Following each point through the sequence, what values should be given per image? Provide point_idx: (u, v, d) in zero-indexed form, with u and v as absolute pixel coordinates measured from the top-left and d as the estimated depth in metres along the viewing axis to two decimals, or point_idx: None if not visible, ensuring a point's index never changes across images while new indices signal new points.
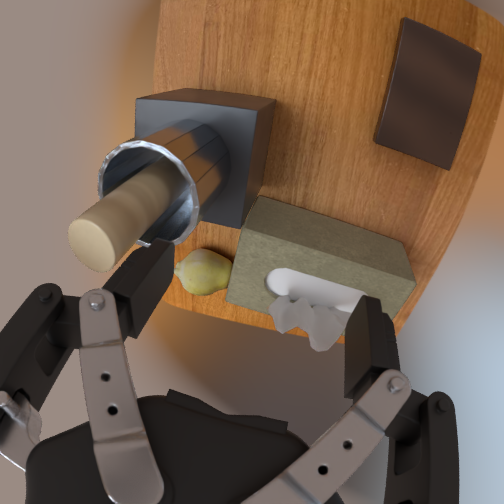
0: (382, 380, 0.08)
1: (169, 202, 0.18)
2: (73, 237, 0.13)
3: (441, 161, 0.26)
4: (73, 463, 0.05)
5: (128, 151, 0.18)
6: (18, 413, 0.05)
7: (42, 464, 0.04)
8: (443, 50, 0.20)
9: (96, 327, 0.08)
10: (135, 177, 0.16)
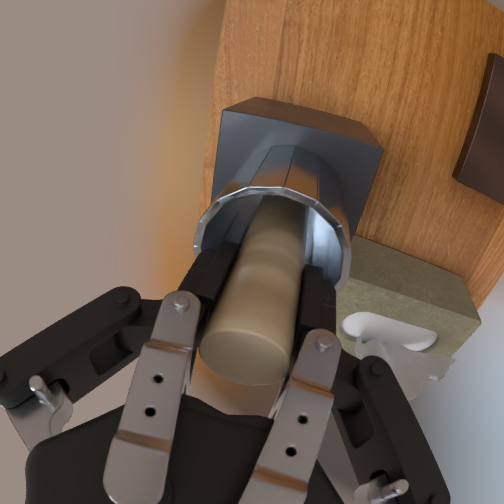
0: (309, 337, 0.09)
1: None
2: (212, 347, 0.09)
3: None
4: (73, 463, 0.05)
5: None
6: (48, 400, 0.06)
7: (47, 458, 0.04)
8: None
9: (187, 330, 0.08)
10: (268, 236, 0.13)
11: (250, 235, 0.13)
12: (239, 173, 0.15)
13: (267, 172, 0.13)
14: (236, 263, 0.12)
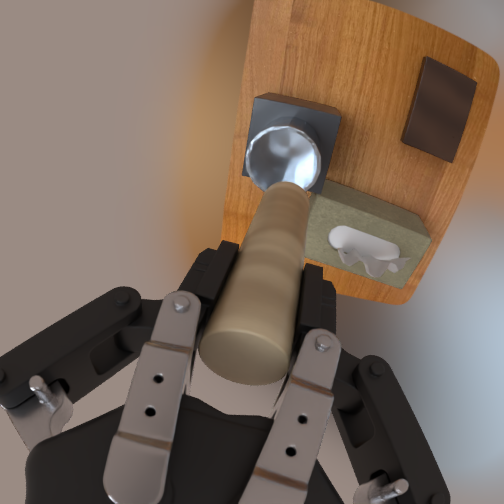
0: (308, 337, 0.09)
1: None
2: (212, 347, 0.09)
3: (446, 156, 0.37)
4: (73, 463, 0.04)
5: None
6: (49, 400, 0.06)
7: (47, 458, 0.04)
8: (450, 80, 0.30)
9: (188, 330, 0.08)
10: (267, 237, 0.13)
11: (250, 235, 0.13)
12: (266, 126, 0.29)
13: (280, 123, 0.28)
14: (236, 263, 0.12)
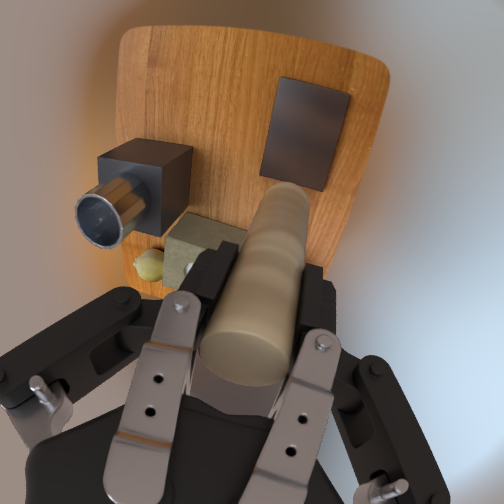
0: (308, 337, 0.09)
1: None
2: (212, 348, 0.09)
3: (314, 185, 0.40)
4: (73, 463, 0.05)
5: None
6: (49, 400, 0.06)
7: (47, 458, 0.04)
8: (312, 98, 0.34)
9: (188, 330, 0.08)
10: (267, 237, 0.13)
11: (250, 236, 0.13)
12: None
13: (96, 187, 0.31)
14: (236, 264, 0.12)
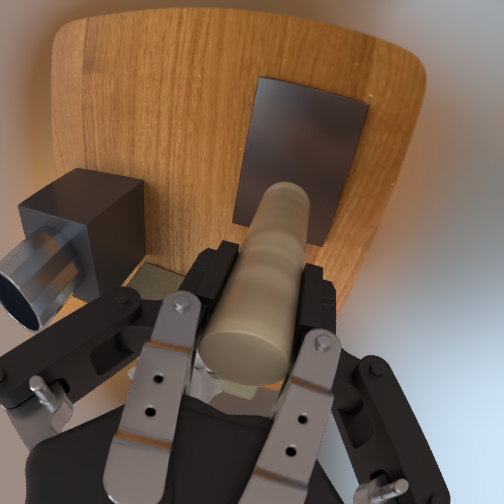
0: (308, 337, 0.09)
1: None
2: (212, 348, 0.09)
3: (310, 238, 0.28)
4: (73, 463, 0.05)
5: None
6: (49, 400, 0.06)
7: (47, 458, 0.04)
8: (309, 110, 0.22)
9: (188, 330, 0.08)
10: (267, 237, 0.13)
11: (250, 236, 0.13)
12: None
13: (6, 257, 0.19)
14: (236, 264, 0.12)
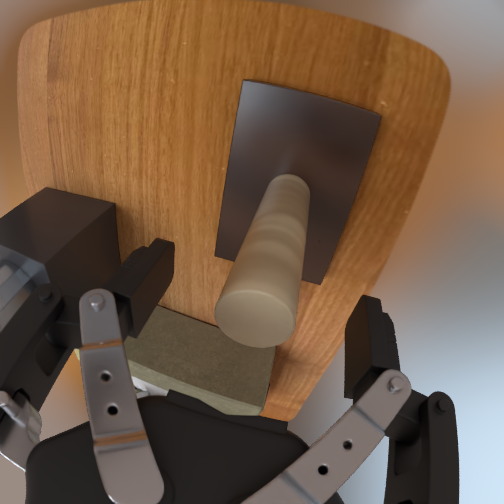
0: (382, 380, 0.08)
1: None
2: (227, 309, 0.11)
3: (307, 275, 0.24)
4: (73, 463, 0.05)
5: None
6: (18, 413, 0.05)
7: (42, 464, 0.04)
8: (307, 122, 0.18)
9: (96, 327, 0.08)
10: (273, 219, 0.14)
11: (257, 218, 0.15)
12: None
13: None
14: (246, 241, 0.14)
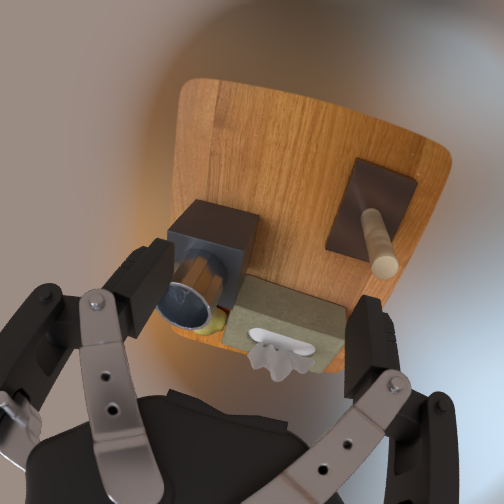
0: (382, 380, 0.08)
1: None
2: (377, 263, 0.29)
3: None
4: (73, 463, 0.05)
5: None
6: (18, 413, 0.05)
7: (42, 464, 0.04)
8: (384, 184, 0.37)
9: (96, 327, 0.08)
10: (380, 231, 0.33)
11: (372, 231, 0.34)
12: None
13: (178, 273, 0.33)
14: (373, 240, 0.32)
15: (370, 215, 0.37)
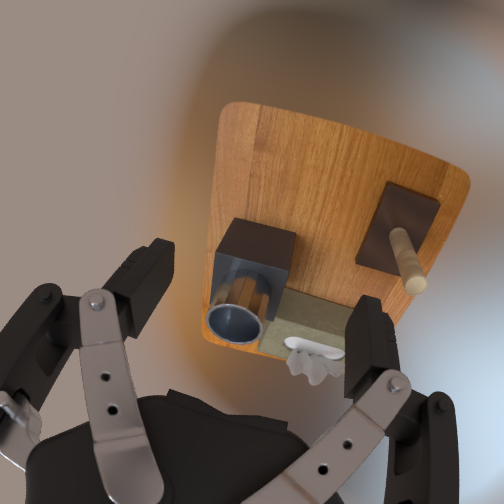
0: (382, 380, 0.08)
1: None
2: (410, 282, 0.32)
3: (398, 272, 0.46)
4: (73, 463, 0.05)
5: None
6: (18, 413, 0.05)
7: (42, 464, 0.04)
8: (411, 206, 0.39)
9: (96, 327, 0.08)
10: (409, 252, 0.36)
11: (402, 251, 0.37)
12: (222, 289, 0.38)
13: (232, 294, 0.36)
14: (404, 260, 0.35)
15: (399, 235, 0.40)
